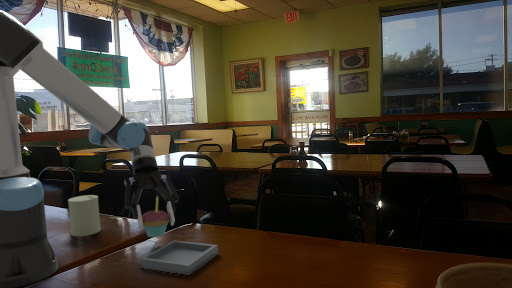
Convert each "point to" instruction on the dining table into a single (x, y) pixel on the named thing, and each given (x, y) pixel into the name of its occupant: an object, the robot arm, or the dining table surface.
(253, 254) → the dining table surface
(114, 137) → the robot arm
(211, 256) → the tray
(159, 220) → the cupcake
